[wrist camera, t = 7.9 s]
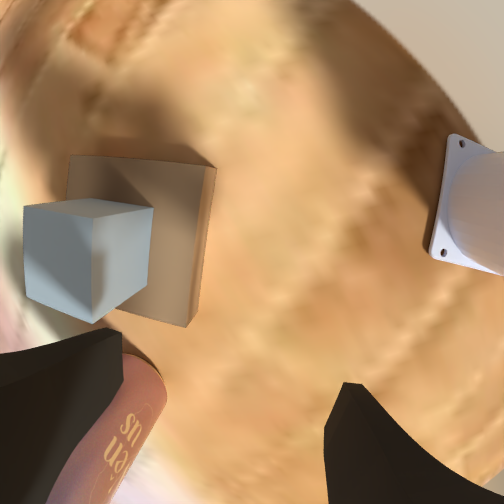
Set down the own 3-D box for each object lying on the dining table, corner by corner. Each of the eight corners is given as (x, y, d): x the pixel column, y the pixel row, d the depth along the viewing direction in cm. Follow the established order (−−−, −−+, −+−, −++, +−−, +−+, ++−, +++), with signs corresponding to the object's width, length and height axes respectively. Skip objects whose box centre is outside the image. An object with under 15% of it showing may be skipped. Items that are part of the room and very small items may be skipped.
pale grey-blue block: (153, 207, 15) (92, 218, 10) (146, 285, 16) (92, 323, 11) (90, 198, 16) (23, 205, 10) (86, 269, 17) (26, 296, 11)
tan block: (218, 169, 18) (205, 165, 15) (199, 308, 20) (186, 327, 17) (96, 157, 18) (70, 154, 15) (88, 279, 20) (64, 291, 17)
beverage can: (95, 347, 21) (-30, 462, 6) (159, 350, 20) (36, 511, 6) (117, 404, 22) (28, 524, 8) (178, 412, 21) (101, 564, 7)
